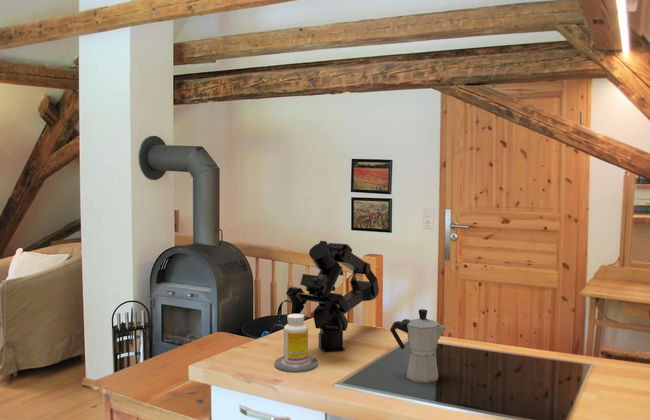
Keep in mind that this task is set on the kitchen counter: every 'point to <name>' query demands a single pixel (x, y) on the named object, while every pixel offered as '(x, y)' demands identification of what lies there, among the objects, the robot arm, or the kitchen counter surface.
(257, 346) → the kitchen counter surface
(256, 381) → the kitchen counter surface
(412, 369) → the coffee maker
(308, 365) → the gray plate
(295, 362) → the supplement bottle
